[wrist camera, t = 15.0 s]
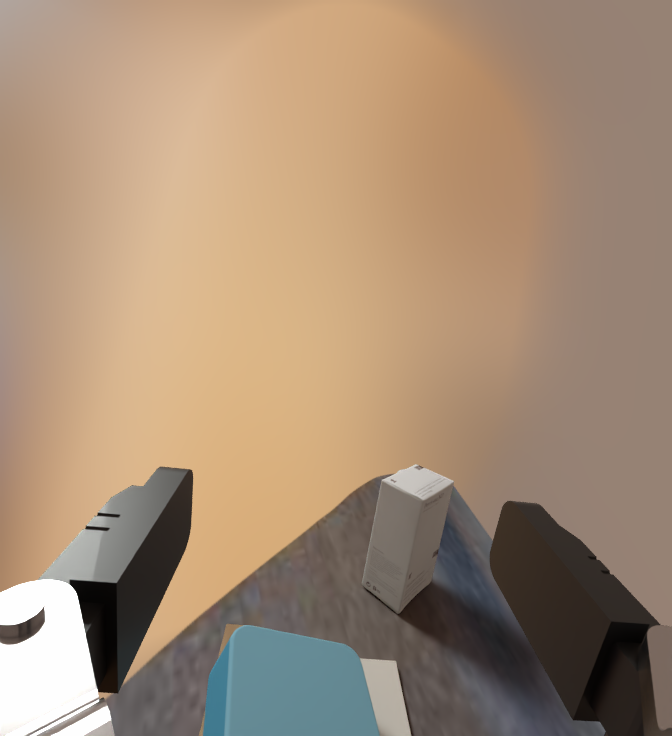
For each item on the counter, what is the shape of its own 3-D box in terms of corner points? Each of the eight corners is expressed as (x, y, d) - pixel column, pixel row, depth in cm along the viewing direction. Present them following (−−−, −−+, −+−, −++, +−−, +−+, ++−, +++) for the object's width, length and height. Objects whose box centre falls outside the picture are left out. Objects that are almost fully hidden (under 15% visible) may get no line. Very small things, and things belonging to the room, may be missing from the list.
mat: (394, 665, 39) (395, 661, 39) (420, 796, 29) (422, 790, 29) (254, 656, 38) (255, 651, 38) (234, 788, 28) (234, 782, 28)
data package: (371, 881, 25) (335, 680, 36) (407, 836, 24) (358, 645, 35) (186, 886, 21) (209, 660, 32) (220, 833, 20) (232, 619, 31)
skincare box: (398, 616, 45) (424, 503, 42) (358, 584, 49) (379, 478, 45) (432, 581, 51) (458, 480, 48) (394, 555, 55) (415, 460, 52)
